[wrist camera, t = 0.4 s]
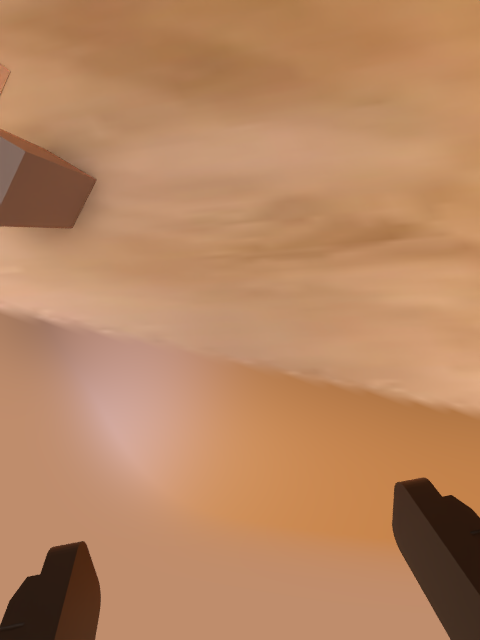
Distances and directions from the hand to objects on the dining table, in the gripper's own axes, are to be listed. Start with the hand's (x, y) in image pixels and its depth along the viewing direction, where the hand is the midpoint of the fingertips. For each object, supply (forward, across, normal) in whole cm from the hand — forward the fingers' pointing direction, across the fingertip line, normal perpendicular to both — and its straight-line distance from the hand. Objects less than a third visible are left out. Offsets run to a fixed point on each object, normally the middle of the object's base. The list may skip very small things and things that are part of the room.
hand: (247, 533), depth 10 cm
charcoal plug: (+29, +10, -8) cm, 32 cm away
